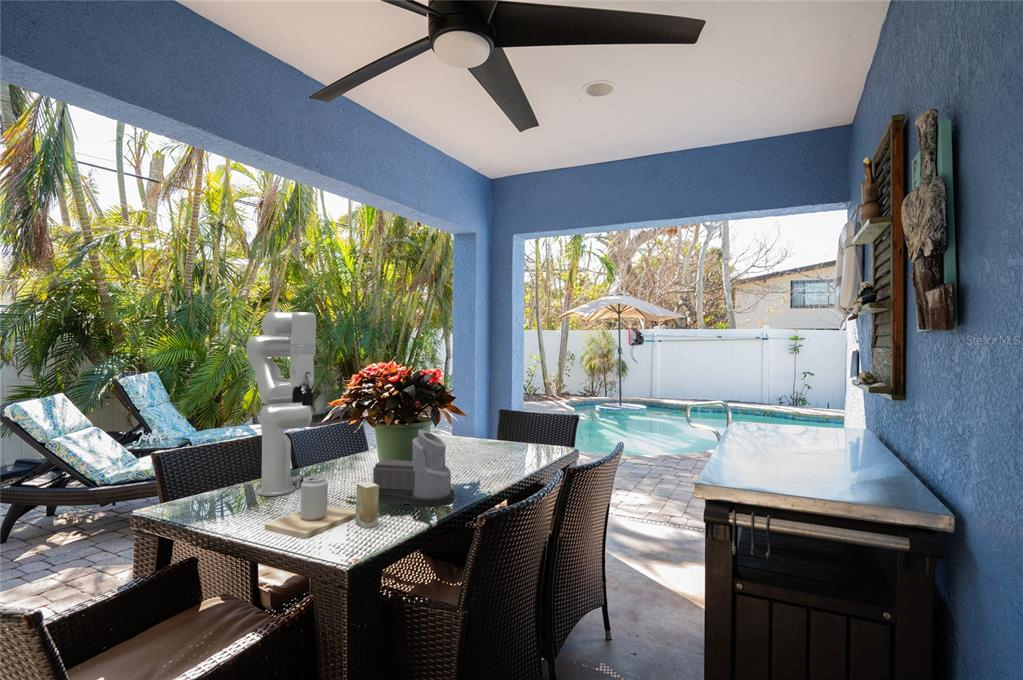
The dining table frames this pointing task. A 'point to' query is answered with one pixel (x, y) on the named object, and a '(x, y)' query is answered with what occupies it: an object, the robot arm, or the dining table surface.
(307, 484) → the can
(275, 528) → the oak board
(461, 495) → the dining table surface
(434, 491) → the juicer
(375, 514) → the skincare box
